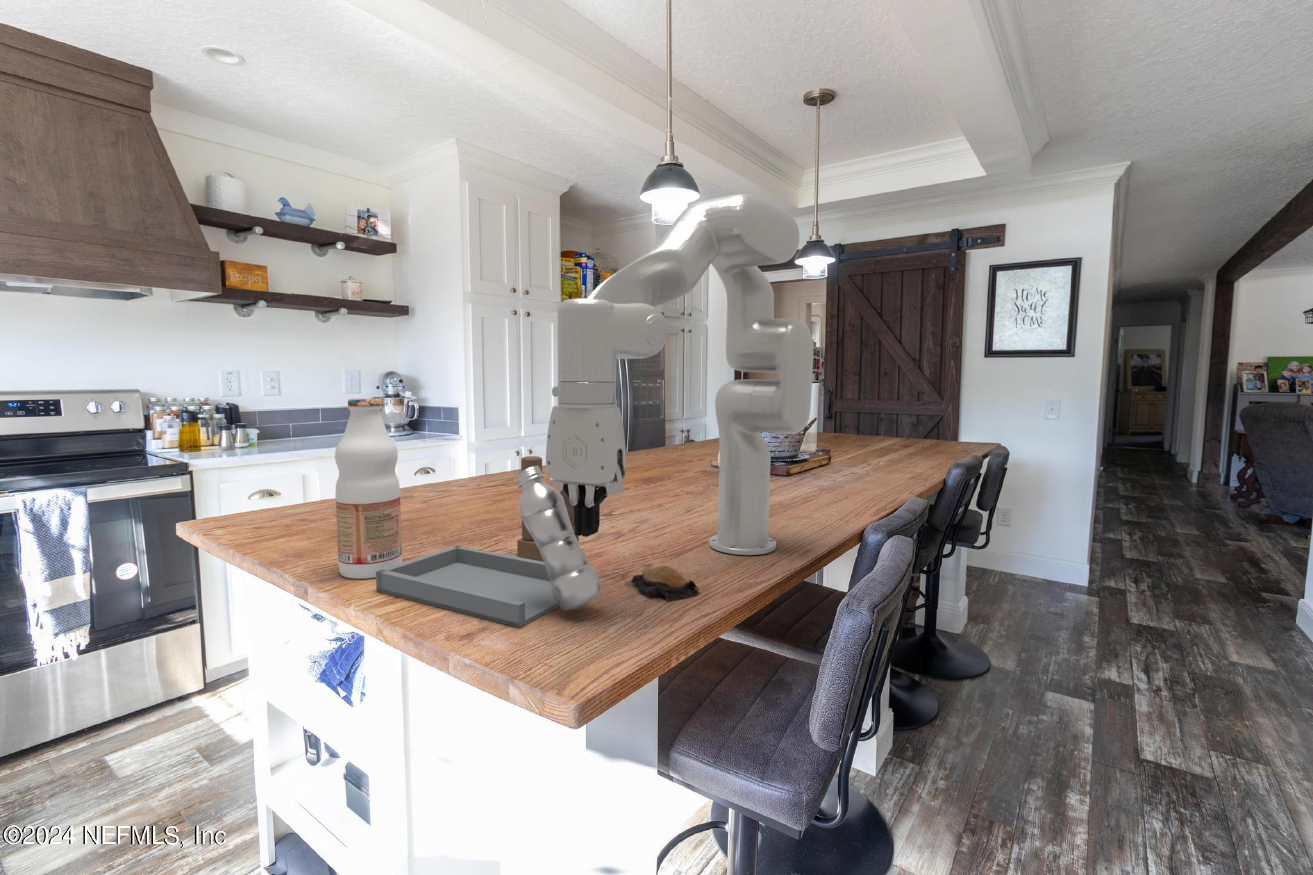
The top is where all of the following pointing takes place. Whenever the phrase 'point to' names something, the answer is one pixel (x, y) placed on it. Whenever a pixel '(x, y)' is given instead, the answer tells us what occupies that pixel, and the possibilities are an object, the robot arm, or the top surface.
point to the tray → (474, 584)
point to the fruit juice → (367, 494)
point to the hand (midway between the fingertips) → (586, 533)
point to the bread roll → (663, 584)
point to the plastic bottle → (556, 541)
